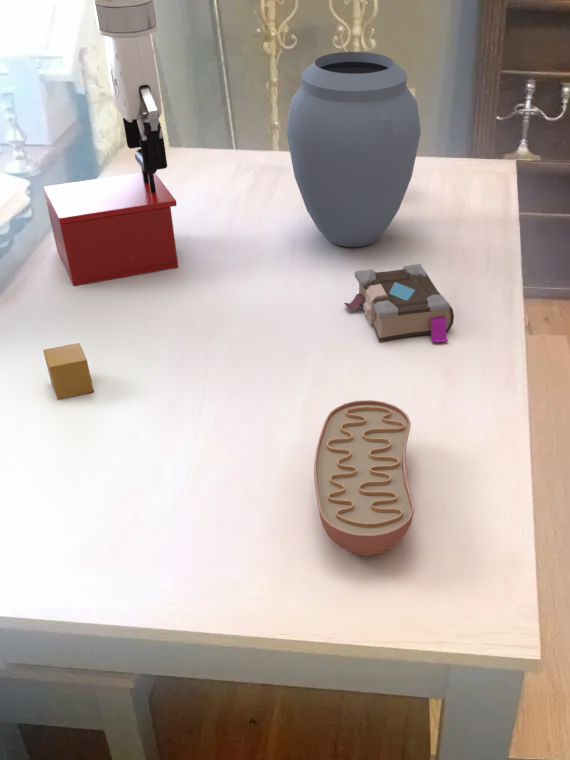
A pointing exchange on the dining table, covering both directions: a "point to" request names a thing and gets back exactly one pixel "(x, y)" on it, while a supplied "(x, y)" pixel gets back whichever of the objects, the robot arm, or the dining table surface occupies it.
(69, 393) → the brass block
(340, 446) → the anatomical model
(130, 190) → the red box lid
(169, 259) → the red open box
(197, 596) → the dining table surface
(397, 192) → the vase
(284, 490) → the dining table surface
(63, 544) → the dining table surface
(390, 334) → the book
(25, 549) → the dining table surface
